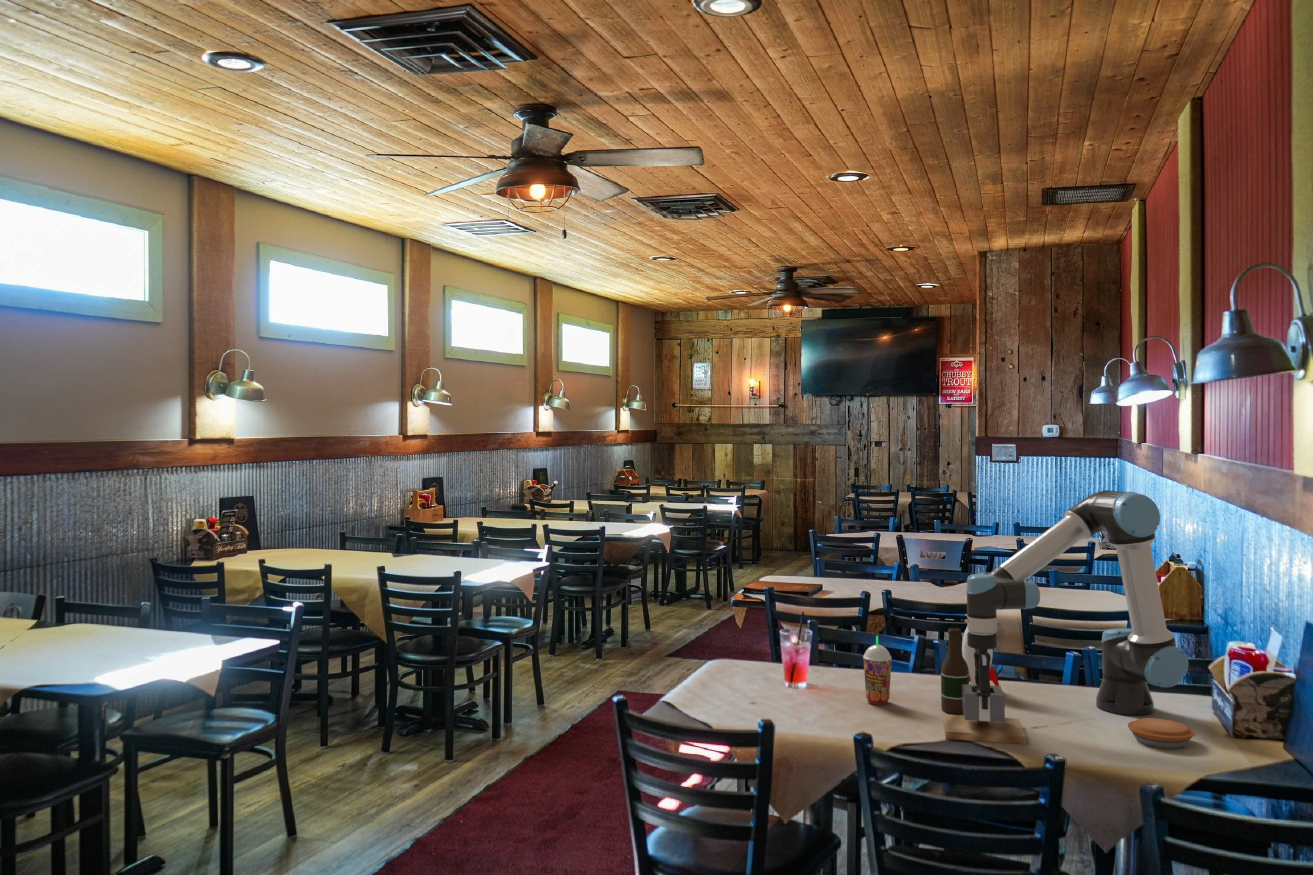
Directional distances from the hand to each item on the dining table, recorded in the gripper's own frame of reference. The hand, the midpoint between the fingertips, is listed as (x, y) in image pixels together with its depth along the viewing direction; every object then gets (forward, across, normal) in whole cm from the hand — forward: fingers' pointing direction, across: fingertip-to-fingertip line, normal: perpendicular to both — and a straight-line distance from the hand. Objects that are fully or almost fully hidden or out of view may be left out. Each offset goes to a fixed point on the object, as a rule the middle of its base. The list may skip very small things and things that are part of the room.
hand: (982, 714), depth 259 cm
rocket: (+5, -41, +2) cm, 41 cm away
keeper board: (+5, 0, 0) cm, 5 cm away
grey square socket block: (0, 0, 0) cm, 0 cm away
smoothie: (+5, -24, -28) cm, 37 cm away
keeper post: (+3, 0, 0) cm, 3 cm away
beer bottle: (+5, -19, -6) cm, 21 cm away
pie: (+5, -1, +44) cm, 44 cm away
